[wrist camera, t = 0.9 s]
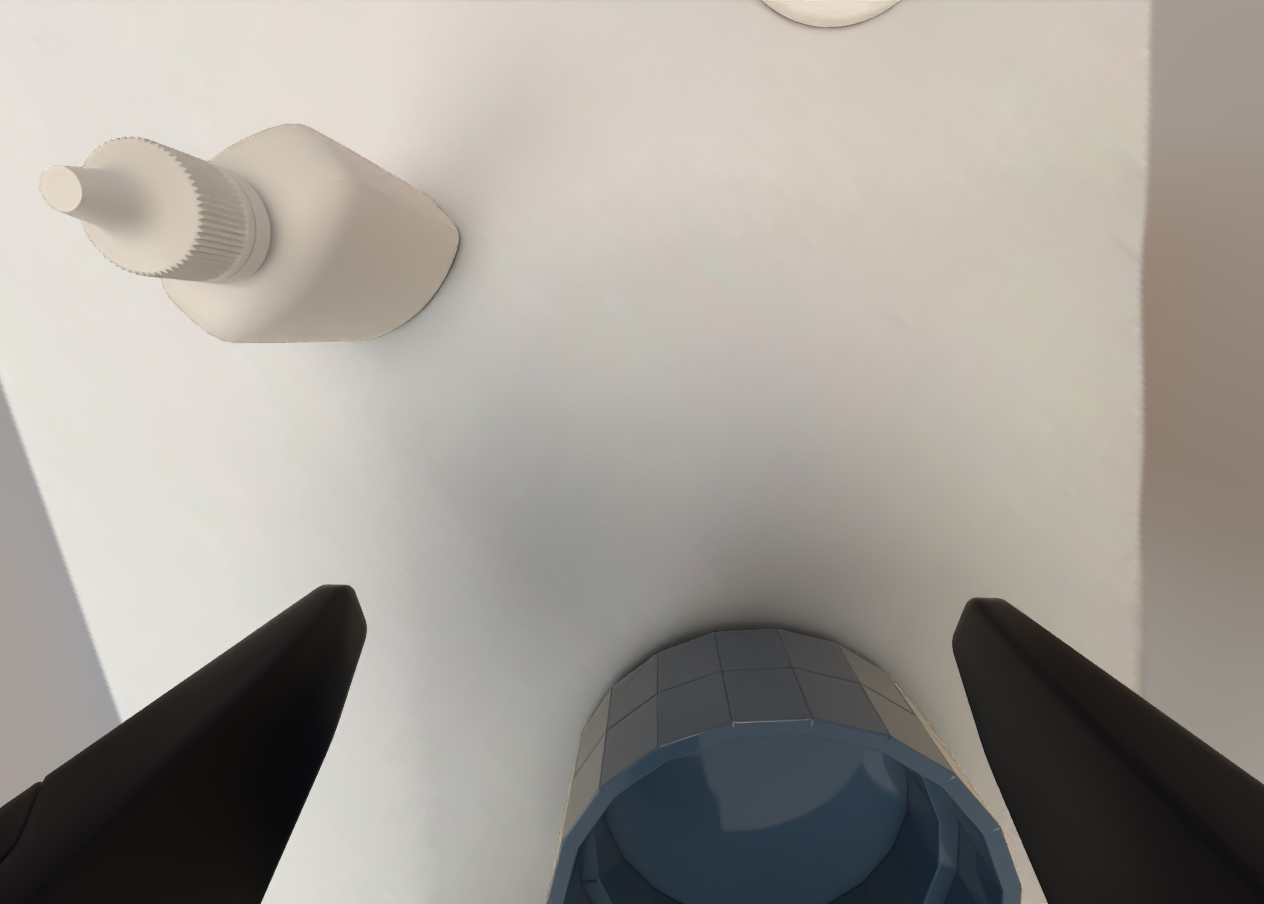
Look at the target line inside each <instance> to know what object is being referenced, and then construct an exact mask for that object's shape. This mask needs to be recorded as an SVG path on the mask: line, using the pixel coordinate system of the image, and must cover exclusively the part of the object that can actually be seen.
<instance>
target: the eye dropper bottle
mask: <svg viewBox="0 0 1264 904" xmlns="http://www.w3.org/2000/svg"><path fill="white" fill-rule="evenodd" d="M40 191H41V194H42V196H43V198H44V200H45V201H46V202H47V204H48V205H49V206H51V207H52V208H53V209H55V210H57V211H60V212H62V213H65V214H67V215H70V216H72V217H75V218H77V219H80V221H81V223H82V225H83V228H84V230H85V232H86V234H87V235H88V237H89V239H90V241H92V243H93V244H94V246H95V247H96V248H97V249H98V250H99V252H100V253H102V254H103V255H104V257H105V258H108V259H109V261H110V262H113V263H114V264H115V265H116V266H119V267H121V268H122V269H123V270H127V271H129V272H131V273H135V274H137V275H142V276H149V277H159V278H161V281H162V286H163V288H164V290H165V292H166V294H167V295H168V297H169V298H170V299H171V300H172V302H173V303H174V304H175V305H176V306H177V307H178V308H179V309H180V310H181V311H182V312H183V313H184V314H185V315H186V316H187V317H188V318H190V319H191V320H192V321H193V322H194V323H195V324H196V325H198V326H199V327H200V328H201V329H203V330H204V331H205V332H206V333H208V334H209V335H211V336H213V337H215V338H217V339H220V340H222V341H225V342H232V343H295V342H337V341H366V340H371V339H374V338H377V337H379V336H381V335H384V334H386V333H388V332H390V331H392V330H394V329H395V328H397V327H399V326H400V325H402V324H403V323H405V322H406V321H408V320H409V319H410V318H412V317H413V316H414V315H415V314H417V313H418V312H419V311H420V310H421V309H422V308H423V307H424V306H425V305H426V304H427V303H428V302H429V300H430V299H431V298H432V297H433V296H434V294H435V293H436V292H437V290H438V289H439V287H440V286H441V284H442V282H443V281H444V279H445V277H446V275H447V273H448V271H449V269H450V267H451V265H452V262H453V260H454V257H455V254H456V251H457V247H458V244H459V233H458V230H457V228H456V226H455V224H454V223H453V222H452V221H451V219H450V218H449V217H448V216H447V215H446V214H445V213H444V212H443V211H442V210H441V209H440V208H439V207H438V206H437V205H436V204H435V203H434V202H433V201H432V200H431V199H430V198H429V197H428V196H427V195H426V194H424V193H423V192H421V191H420V190H418V189H416V188H415V187H413V186H411V185H410V184H408V183H406V182H405V181H403V180H401V179H400V178H398V177H396V176H395V175H393V174H391V173H389V172H388V171H386V170H384V169H383V168H381V167H379V166H378V165H376V164H374V163H373V162H371V161H369V160H367V159H366V158H364V157H362V156H361V155H359V154H357V153H355V152H354V151H352V150H350V149H349V148H347V147H345V146H343V145H342V144H340V143H338V142H336V141H334V140H333V139H331V138H329V137H327V136H325V135H323V134H322V133H320V132H318V131H316V130H314V129H312V128H311V127H308V126H305V125H302V124H283V125H279V126H276V127H272V128H269V129H266V130H263V131H261V132H258V133H256V134H254V135H251V136H249V137H247V138H245V139H243V140H241V141H239V142H237V143H235V144H234V145H232V146H230V147H228V148H227V149H225V150H224V151H222V152H221V153H219V154H218V155H216V156H215V157H213V158H212V159H211V160H210V161H208V162H207V161H204V160H202V159H199V158H196V157H194V156H191V155H189V154H186V153H183V152H181V151H178V150H175V149H173V148H170V147H167V146H165V145H162V144H160V143H157V142H154V141H151V140H148V139H142V138H139V137H137V138H134V137H129V138H127V137H123V138H121V139H120V138H117V139H115V140H110V141H109V142H108V143H107V142H105V143H104V144H103V145H102V146H101V145H100V146H99V147H98V148H97V149H95V150H94V151H93V152H92V153H91V154H90V155H89V157H88V158H87V159H86V161H85V162H84V164H83V166H82V167H71V166H58V165H55V166H51V167H48V168H47V169H46V170H45V171H44V172H43V173H42V175H41V178H40Z"/></svg>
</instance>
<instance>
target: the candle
mask: <svg viewBox="0 0 1264 904" xmlns="http://www.w3.org/2000/svg"><path fill="white" fill-rule="evenodd" d="M763 1H764V2H765V3H766V4H767V5H768V6H770V7H771V8H772V9H774V10H775V11H777V12H778V13H780V14H782V15H784V16H785V17H787V18H789V19H792V20H794V21H797V22H800V23H803V24H807V25H812V26H818V27H840V26H846V25H852V24H855V23H859V22H862V21H865V20H868V19H870V18H873V17H875V16H877V15H879V14H881V13H882V12H884V11H886V10H887V9H889V8H890V7H892V6H894V5H895V4H896V3H898V2H899V1H900V0H763Z"/></svg>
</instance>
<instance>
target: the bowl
mask: <svg viewBox="0 0 1264 904" xmlns="http://www.w3.org/2000/svg"><path fill="white" fill-rule="evenodd" d="M1021 891H1022V889H1021V883H1020V881H1019V878H1018V875H1017V872H1016V869H1015V866H1014V863H1013V860H1012V858H1011V855H1010V852H1009V849H1008V846H1007V843H1006V840H1005V837H1004V835H1003V832H1002V829H1001V827H1000V825H999V823H998V822H997V821H996V819H995V818H994V816H993V815H992V813H991V812H990V810H989V809H988V808H987V806H986V805H985V803H984V802H983V800H982V799H981V797H980V796H979V795H978V793H977V792H976V790H975V789H974V787H973V786H972V785H971V783H970V782H969V780H968V779H967V777H966V776H965V774H964V773H963V772H962V770H961V769H960V767H959V766H958V764H957V763H956V762H955V760H954V759H953V757H952V756H951V754H950V753H949V751H948V750H947V749H946V747H945V746H944V744H943V743H942V741H941V740H940V738H939V737H938V736H937V734H936V733H935V731H934V730H933V728H932V727H931V726H930V724H929V723H928V721H927V720H926V718H925V717H924V715H923V714H922V713H921V712H920V710H919V709H918V708H917V707H916V706H915V705H914V703H913V702H912V701H911V700H910V699H909V698H908V696H907V695H906V694H905V693H904V692H903V691H902V689H901V688H900V687H899V686H898V685H897V684H896V682H895V681H894V680H893V679H892V678H891V676H890V675H889V674H888V673H886V672H885V671H883V670H881V669H880V668H878V667H876V666H875V665H873V664H871V663H870V662H868V661H866V660H865V659H863V658H861V657H860V656H858V655H856V654H854V653H853V652H851V651H849V650H848V649H846V648H844V647H843V646H841V645H839V644H837V643H835V642H833V641H828V640H824V639H820V638H816V637H811V636H807V635H803V634H799V633H795V632H790V631H786V630H782V629H778V628H777V629H776V628H768V629H750V630H732V631H715V633H714V632H712V633H710V634H707V635H704V636H701V637H698V638H696V639H693V640H690V641H687V642H684V643H682V644H679V645H676V646H673V647H670V648H667V649H665V650H662V651H659V652H658V653H656V654H655V655H653V656H652V657H651V658H649V659H648V660H647V661H645V662H644V663H643V664H641V665H640V666H639V667H637V668H636V669H635V670H633V671H632V672H631V673H629V674H628V675H627V676H625V677H624V678H623V679H621V680H620V681H619V682H617V683H616V684H615V685H614V686H613V687H611V689H610V690H609V692H608V693H607V694H606V696H605V697H604V699H603V700H602V702H601V703H600V705H599V706H598V708H597V709H596V711H595V712H594V714H593V715H592V717H591V718H590V720H589V721H588V722H587V724H586V725H585V727H584V728H583V731H582V732H581V736H580V740H579V745H578V749H577V753H576V757H575V761H574V765H573V769H572V773H571V777H570V782H569V787H568V792H567V797H566V802H565V808H564V813H563V818H562V823H561V828H560V833H559V839H558V844H557V849H556V854H555V859H554V864H553V870H552V875H551V880H550V885H549V890H548V895H547V904H1021Z"/></svg>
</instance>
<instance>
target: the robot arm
mask: <svg viewBox="0 0 1264 904" xmlns="http://www.w3.org/2000/svg"><path fill="white" fill-rule="evenodd" d="M366 633H367V624H366V620H365V617H364V615H363V612H362V609H361V606H360V604H359V601H358V598H357V596H356V593H355V591H354V589H353V588H352V587H351V586H349V585H322V586H320V587H318V588H316V589H315V590H313V591H312V592H310V593H309V594H308V595H306V596H305V597H303V598H302V599H300V600H299V601H298V602H296V603H295V604H293V605H292V606H290V607H289V608H287V609H286V610H285V611H283V612H282V613H280V614H279V615H277V616H276V617H275V618H273V619H272V620H270V621H269V622H267V623H266V624H264V625H263V626H262V627H260V628H259V629H257V630H256V631H254V632H253V633H251V634H250V635H249V636H247V637H246V638H244V639H243V640H241V641H240V642H239V643H237V644H236V645H234V646H233V647H231V648H230V649H228V650H227V651H226V652H224V653H223V654H221V655H220V656H218V657H217V658H215V659H214V660H213V661H211V662H210V663H208V664H207V665H205V666H204V667H203V668H201V669H200V670H198V671H197V672H195V673H194V674H192V675H191V676H190V677H188V678H187V679H185V680H184V681H182V682H181V683H180V684H178V685H177V686H175V687H174V688H172V689H171V690H169V691H168V692H167V693H165V694H164V695H162V696H161V697H159V698H158V699H156V700H155V701H154V702H152V703H151V704H149V705H148V706H146V707H145V708H144V709H142V710H141V711H139V712H138V713H136V714H135V715H133V716H132V717H131V718H129V719H128V720H126V721H125V722H123V723H122V724H121V725H119V726H118V727H116V728H115V729H113V730H112V731H110V732H109V733H108V734H106V735H105V736H103V737H102V738H100V739H99V740H98V741H96V742H95V743H93V744H92V745H90V746H89V747H87V748H86V749H84V750H83V751H82V752H80V753H79V754H77V755H76V756H74V757H73V758H72V759H70V760H69V761H67V762H66V763H64V764H63V765H61V766H60V767H59V768H57V769H56V770H54V771H53V772H51V773H50V774H48V775H47V776H46V777H45V779H44V781H43V782H37V783H35V784H34V785H32V786H31V787H30V788H28V789H27V790H25V791H24V792H22V793H21V794H20V795H18V796H17V797H15V798H14V799H12V800H11V801H9V802H8V803H6V804H5V805H4V806H2V807H1V808H0V904H261V902H262V900H263V897H264V895H265V893H266V890H267V888H268V886H269V884H270V881H271V879H272V877H273V874H274V872H275V870H276V868H277V865H278V863H279V861H280V859H281V856H282V854H283V852H284V849H285V847H286V845H287V843H288V840H289V838H290V836H291V833H292V831H293V829H294V827H295V824H296V822H297V820H298V818H299V815H300V813H301V811H302V808H303V806H304V804H305V802H306V799H307V797H308V795H309V792H310V790H311V788H312V786H313V783H314V781H315V779H316V776H317V774H318V772H319V770H320V767H321V765H322V763H323V761H324V758H325V756H326V754H327V751H328V749H329V746H330V744H331V742H332V739H333V737H334V734H335V731H336V728H337V725H338V723H339V720H340V717H341V713H342V710H343V707H344V704H345V701H346V698H347V695H348V692H349V689H350V685H351V682H352V679H353V676H354V673H355V670H356V667H357V664H358V661H359V658H360V654H361V651H362V648H363V645H364V642H365V639H366ZM952 647H953V653H954V656H955V660H956V663H957V666H958V669H959V673H960V676H961V679H962V682H963V685H964V689H965V692H966V695H967V698H968V702H969V705H970V708H971V711H972V715H973V718H974V721H975V724H976V727H977V731H978V734H979V737H980V740H981V743H982V746H983V749H984V752H985V755H986V758H987V760H988V763H989V765H990V768H991V770H992V773H993V775H994V778H995V780H996V782H997V785H998V787H999V789H1000V792H1001V794H1002V797H1003V799H1004V801H1005V804H1006V806H1007V808H1008V811H1009V813H1010V815H1011V818H1012V820H1013V822H1014V825H1015V827H1016V829H1017V832H1018V834H1019V836H1020V839H1021V841H1022V843H1023V846H1024V848H1025V851H1026V853H1027V855H1028V858H1029V860H1030V862H1031V865H1032V867H1033V869H1034V872H1035V874H1036V876H1037V879H1038V881H1039V883H1040V886H1041V888H1042V890H1043V893H1044V895H1045V897H1046V900H1047V902H1048V904H1264V784H1262V783H1261V782H1259V781H1258V780H1257V779H1255V778H1254V777H1252V776H1251V775H1250V774H1248V773H1247V772H1245V771H1244V770H1243V769H1241V768H1240V767H1238V766H1237V765H1236V764H1234V763H1233V762H1231V761H1230V760H1228V759H1227V758H1225V757H1224V756H1223V755H1221V754H1220V753H1219V752H1217V751H1216V750H1214V749H1213V748H1212V747H1210V746H1209V745H1208V744H1206V743H1204V742H1203V741H1202V740H1201V739H1199V738H1198V737H1196V736H1195V735H1193V734H1192V733H1191V732H1189V731H1188V730H1186V729H1185V728H1184V727H1182V726H1181V725H1179V724H1178V723H1177V722H1175V721H1174V720H1172V719H1171V718H1170V717H1168V716H1166V715H1165V714H1164V713H1162V712H1161V711H1160V710H1158V709H1157V708H1156V707H1154V706H1153V705H1151V704H1150V703H1149V702H1147V701H1146V700H1144V699H1143V698H1142V697H1140V696H1139V695H1137V694H1136V693H1135V692H1133V691H1132V690H1130V689H1129V688H1128V687H1126V686H1125V685H1123V684H1122V683H1120V682H1119V681H1118V680H1116V679H1115V678H1113V677H1112V676H1111V675H1109V674H1108V673H1106V672H1105V671H1104V670H1102V669H1101V668H1099V667H1098V666H1097V665H1095V664H1094V663H1092V662H1091V661H1090V660H1088V659H1087V658H1085V657H1084V656H1083V655H1081V654H1080V653H1078V652H1077V651H1076V650H1074V649H1073V648H1071V647H1070V646H1069V645H1067V644H1066V643H1064V642H1063V641H1062V640H1060V639H1059V638H1057V637H1056V636H1054V635H1053V634H1052V633H1050V632H1049V631H1047V630H1046V629H1045V628H1043V627H1042V626H1040V625H1039V624H1038V623H1036V622H1035V621H1033V620H1032V619H1031V618H1029V617H1028V616H1026V615H1025V614H1024V613H1022V612H1021V611H1019V610H1018V609H1017V608H1015V607H1014V606H1012V605H1011V604H1010V603H1008V602H1006V601H1005V600H1003V599H999V598H972V599H970V600H969V601H968V602H967V603H966V605H965V608H964V610H963V613H962V615H961V617H960V620H959V622H958V625H957V627H956V629H955V632H954V635H953V639H952Z"/></svg>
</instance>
